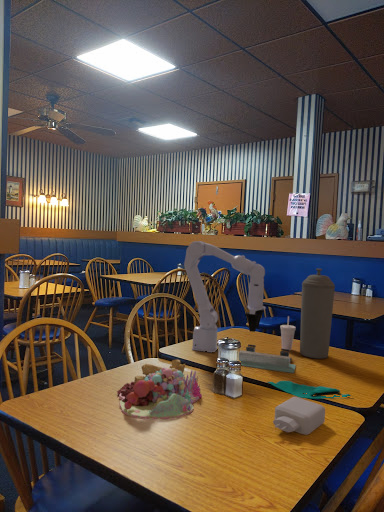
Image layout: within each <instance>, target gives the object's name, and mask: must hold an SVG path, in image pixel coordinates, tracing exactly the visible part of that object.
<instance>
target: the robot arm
mask: <svg viewBox="0 0 384 512" xmlns="http://www.w3.org/2000/svg"><path fill="white" fill-rule="evenodd" d="M204 256H214V257H215V258H218V259H220V260H223V261H225V262H227V263H228V264H229V263H230V264H231V267H232V269H234V270H236V271H238V272H240V273H242V274H244V275H245V276H246V275H247V276H249V283H248V298H247V299H248V300H247V309H248V310H249V312H245V316H246V319H247V323H248V329H249V332H252V333H256V330H257V329H258V328H259V326H260V323H261V318H262V317H263V316H262V315H263V313H265V311H264V310H266V306H264V292H265V291H264V288H265V284H264V282H265V279H264V277H265V275H266V269H265V267H264V266H263V265H262V264H261V263H260V264H259V263H257V262H256V261H255V260H253V261H252V260H250V259H248V258H246V256H245V255H243V254H242V255H240V254H238V255H232V254H230V253H229V252H227V251H225V250H223V249H221V248H219V247H218V246H216V245H214V244H211V243H207V242H205V241H202V240H199V241H198V240H195V241H192V242H190V243H189V245H188V246H187V248H186V252H185V256H184V257H185V258H184V261H183V267H184V269H185V272H186V273H185V274H186V275H187V278H188V281H189V283H190V286H191V290H192V292H193V296H194V297H195V298H194V299H195V301H196V303H197V307H198V314H199V320H198V321H199V324H200V325H199V326H197V325H196V326H195V327H194V329H193V333H192V347H191V350H192V351H199V352H205V351H207V352H206V353H212V352H215V351H216V350H217V347H218V346H217V345H218V342H217V341H218V328H219V327H218V326H217V324H216V323H217V322H218V320H219V314H218V312H217V311H216V310H215V309H214V306H213V304H212V303H211V302H210V298H209V296H208V294H207V293H208V292H207V289H206V288H205V284H204V282H203V280H202V275H201V273H200V270H199V267H198V265H199V263H200V261H201V259H202V258H203V257H204ZM217 351H218V350H217ZM217 351H216V352H217ZM216 352H215V353H216Z"/></svg>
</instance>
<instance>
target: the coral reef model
mask: <svg viewBox="0 0 384 512" xmlns="http://www.w3.org/2000/svg"><path fill="white" fill-rule="evenodd" d="M185 367H186V363H183V364H182V363H181V360H180V359H172V360H171V365H169V367H161V366H156V365H154V364H152V363H151V364H150V363H145V364H143V365H142V366H141V371H142V375H136V376H134V381H131V382H129V383H128V382H126V383H125V384H124V385H123V386H122V387H121V388H120V389H118V390H117V391H116V392H117V396H119V397H118V398H119V404H118V405H119V408H120V410H121V413H122V414H124V415H126V416H128V417H132V418H138V419H145V420H146V419H147V420H148V419H152V420H160V419H161V420H169V419H175V418H181V417H183V416H187V415H189V414H191V413H192V412H193V411H194V405H193V404H195V403H197V401H199V400H200V399H201V398H202V397H203V396H202V393H201V388H200V384H199V383H198V382H199V375H198V374H197V371H196V370H194V372H193V369H191V371H190V375H188V374H186V378H185V377H184V371H185ZM144 375H145V376H144Z"/></svg>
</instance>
